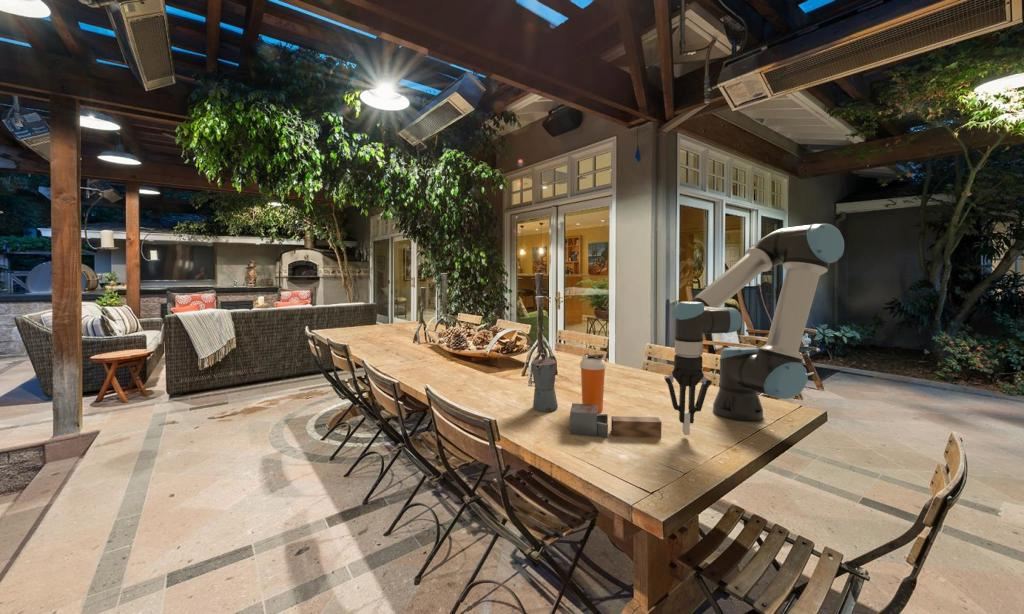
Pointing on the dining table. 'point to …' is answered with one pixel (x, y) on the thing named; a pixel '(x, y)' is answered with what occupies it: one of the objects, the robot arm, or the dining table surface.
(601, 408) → the shaker bottle
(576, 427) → the end cap
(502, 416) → the dining table surface
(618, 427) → the brown wooden block
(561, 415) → the dining table surface
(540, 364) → the moka pot
